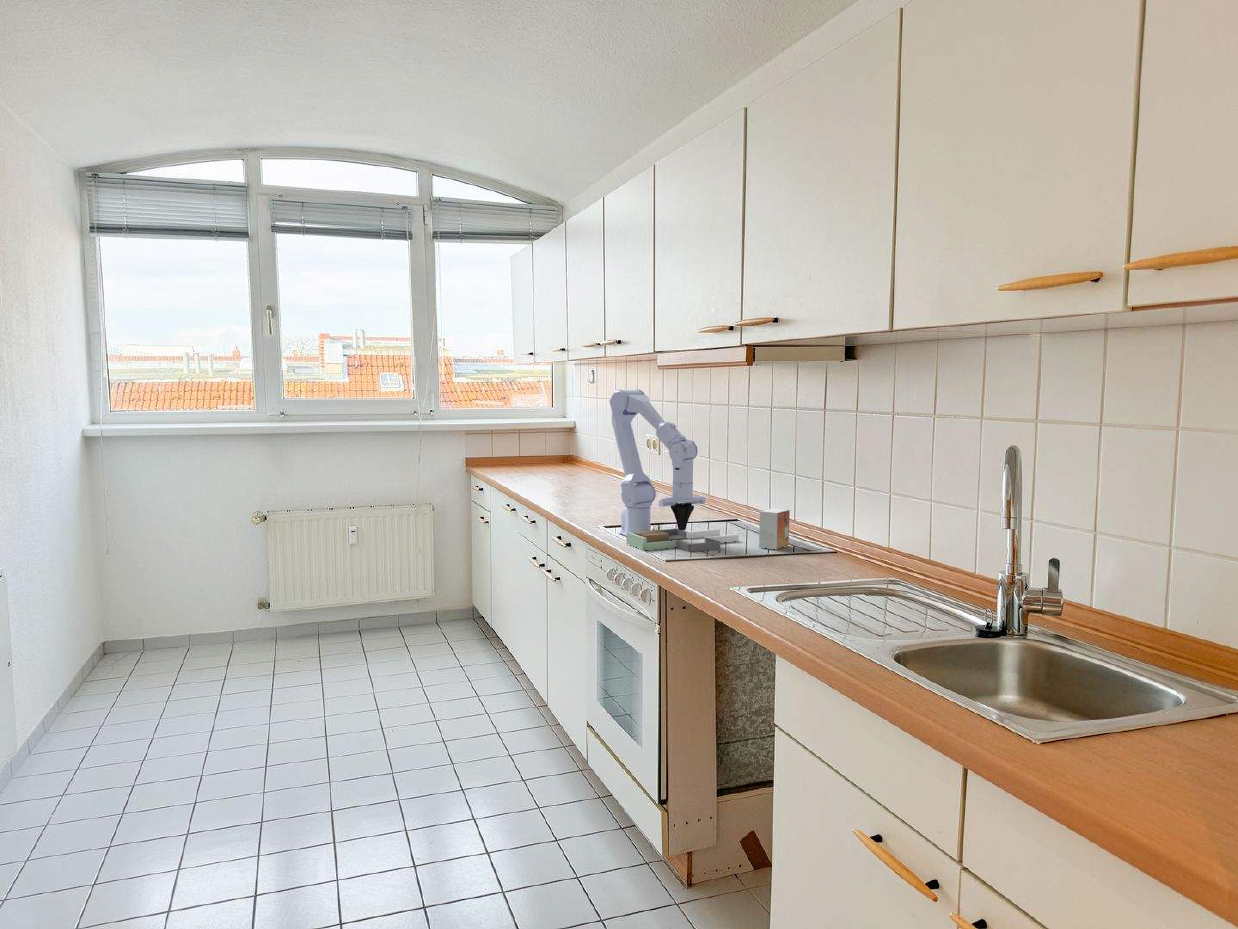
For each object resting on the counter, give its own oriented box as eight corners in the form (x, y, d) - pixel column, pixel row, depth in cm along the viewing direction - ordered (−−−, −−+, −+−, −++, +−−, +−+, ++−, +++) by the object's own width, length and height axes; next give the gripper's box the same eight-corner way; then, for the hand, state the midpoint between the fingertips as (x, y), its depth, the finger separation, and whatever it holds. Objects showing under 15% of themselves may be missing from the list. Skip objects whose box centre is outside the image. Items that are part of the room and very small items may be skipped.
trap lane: (616, 540, 246) (616, 528, 245) (706, 532, 260) (706, 520, 260) (655, 555, 225) (656, 542, 225) (751, 545, 240) (752, 533, 240)
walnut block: (633, 546, 239) (633, 532, 239) (657, 543, 243) (658, 530, 242) (643, 550, 234) (644, 535, 233) (668, 547, 237) (668, 533, 237)
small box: (776, 550, 233) (777, 513, 232) (758, 548, 236) (759, 511, 235) (789, 546, 239) (790, 509, 238) (771, 543, 242) (772, 507, 241)
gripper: (668, 485, 234) (667, 534, 235) (711, 483, 241) (710, 530, 242) (655, 482, 240) (654, 529, 242) (698, 480, 247) (697, 526, 248)
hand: (681, 529), depth 242 cm, fingers closed
